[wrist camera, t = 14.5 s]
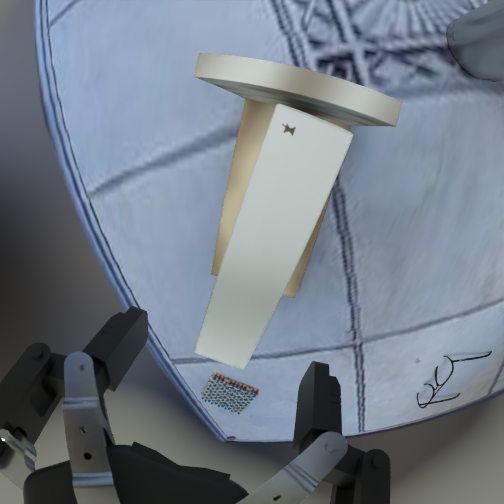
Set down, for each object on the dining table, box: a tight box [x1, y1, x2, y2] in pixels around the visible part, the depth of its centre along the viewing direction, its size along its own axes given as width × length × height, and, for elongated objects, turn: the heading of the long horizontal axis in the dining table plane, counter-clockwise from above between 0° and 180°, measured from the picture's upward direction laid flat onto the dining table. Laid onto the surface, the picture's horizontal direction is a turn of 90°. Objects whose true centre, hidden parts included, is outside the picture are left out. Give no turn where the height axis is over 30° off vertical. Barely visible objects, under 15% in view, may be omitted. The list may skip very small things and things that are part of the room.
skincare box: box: [194, 103, 354, 369], centre depth 26 cm, size 21×6×16 cm, turn 161°
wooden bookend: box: [194, 53, 402, 298], centre depth 26 cm, size 12×25×18 cm, turn 168°
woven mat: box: [201, 372, 259, 414], centre depth 53 cm, size 10×11×2 cm
